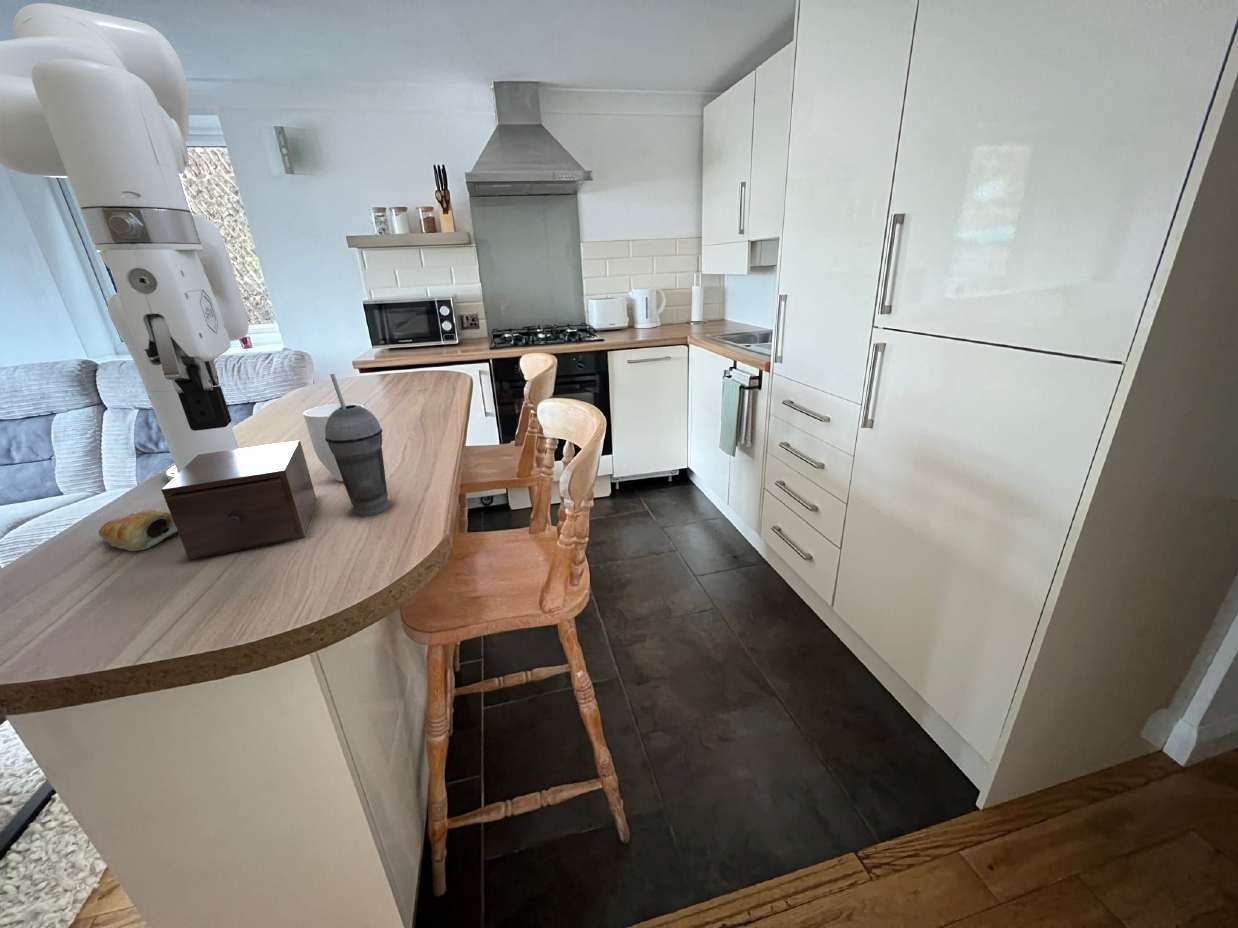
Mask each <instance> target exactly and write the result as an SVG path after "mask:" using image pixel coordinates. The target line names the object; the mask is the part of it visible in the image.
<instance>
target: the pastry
mask: <svg viewBox="0 0 1238 928" xmlns="http://www.w3.org/2000/svg"><path fill="white" fill-rule="evenodd" d="M176 533H178V531H177V528H176V526H175V523H174V521H173V518H172V516H171V513H170V512H168V511H157V510H153V509H152V510H145V511H139V512H133V513H131V514H127V515H125V516H122V517H119V518H114V519H111V520H108V521H107V522H105V523H104V524H103V525H102V526H101V527H100V528H99V530H98V536H99V537H100V538H102V539H103V541H105V542H107V543H108V544H109V545H110V546H111V547H113V548H117V549H119V550H126V551H130V552H137V551H142V550H149V549H150V548H152V547H153V546H156V545H159V544H160V543H161V542H162V541H164V540H166V539H167V538H169V537H172V536H173V535H175V534H176Z"/></svg>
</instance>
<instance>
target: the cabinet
mask: <svg viewBox="0 0 1238 928" xmlns="http://www.w3.org/2000/svg"><path fill="white" fill-rule="evenodd" d="M304 453H305V452H304V450H303V446H302V442H301V440H291V441H286V442H278V443H271V444H264V445H263V444H262V445H258V446H256V445H255V446H249V447H242V448H239V449H235V450H228V451H220V452H213V453H206V454H199V455H197V456H196V457H195V458H194V459H193V460H192V461H191V462H190V463H189V464H187V465H186V466H185V467H184V468H183V469H182V470H181V471H180V472H179V473H178V474H177V475H176V476H175V477H174V478H173V479H172V480H171V481H170V480H169V481H168V483H166V485H164V486H163V487H162V488H161V490H160V491H161V493H162V495H163V498H164V501H165V503H166V505H167V508H168V511H169V514H171V516H172V518H173V515H172V513H171V510H170V508H169V505H168V503H167V500H166V499H167V498H168V497H169V496H172V495H178V494H182V493H183V492H189V491H195V490H202V489H208V488H214V487H220V486H227V485H233V484H239V483H245V482H252V481H258V480H264V479H270V478H277V477H280V478H282V482H283V485H284V488H285V492H286V495H287V498H288V502H289V505H290V508H291V511H292V515H293V518H294V521H295V525H296V528H297V531H298V533H297V536H294V537H289V538H284V539H279V540H274V541H269V542H264V543H259V544H254V545H249V546H244V547H239V548H234V549H229V550H224V551H219V552H214V553H209V554H204V555H199V556H194V557H189V555H188V553H187V550H186V548H185V545H184V543H183V540H182V538H181V535H180V533H179V530H178V528H177V525H176V523H175V520H174V518H173V521H174V523H175V526H176V528H177V533H178V536H179V539H180V541H181V543H182V546H183V549H184V551H185V553H186V556H187V558H188V560H189V561H192V560H196V559H202V558H206V557H210V556H211V557H212V556H216V555H221V554H227V553H232V552H236V551H241V550H246V549H247V550H248V549H251V548H257V547H260V546H267V545H271V544H276V543H281V542H287V541H291V540H296V539H297V540H298V539H301V538H305V537H306V534H307V531H308V528H309V524H310V520H311V517H312V513H313V512H314V511H313V510H314V507H315V504H316V501H317V496H316V493H315V489H314V485H313V482H312V477H311V476H310V475H311V473H310V471H309V468H308V463H307V461H306V456H305V454H304Z"/></svg>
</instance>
